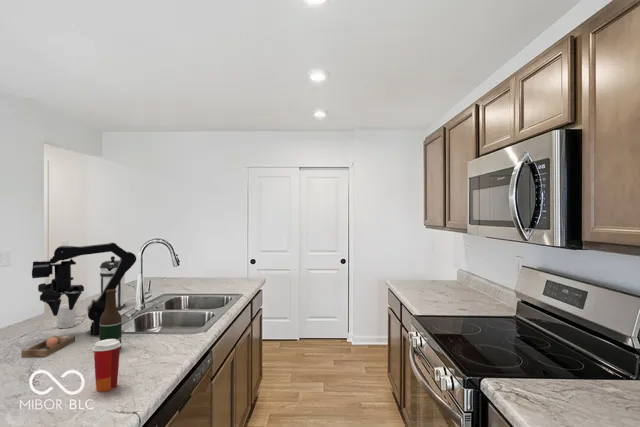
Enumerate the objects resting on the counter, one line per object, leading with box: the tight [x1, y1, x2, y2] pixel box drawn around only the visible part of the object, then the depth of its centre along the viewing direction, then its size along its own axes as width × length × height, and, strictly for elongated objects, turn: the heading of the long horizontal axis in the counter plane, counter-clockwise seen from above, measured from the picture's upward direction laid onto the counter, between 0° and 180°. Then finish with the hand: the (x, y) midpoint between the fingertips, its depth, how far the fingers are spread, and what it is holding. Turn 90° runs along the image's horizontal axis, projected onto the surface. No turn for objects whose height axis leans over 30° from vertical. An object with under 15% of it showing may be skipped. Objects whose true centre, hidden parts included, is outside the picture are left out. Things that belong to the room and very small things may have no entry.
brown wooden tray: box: [20, 336, 76, 358], centre depth 146 cm, size 9×18×4 cm, turn 1°
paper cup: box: [91, 339, 122, 393], centre depth 115 cm, size 8×8×14 cm
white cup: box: [56, 303, 77, 329], centre depth 178 cm, size 8×8×10 cm
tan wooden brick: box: [49, 335, 70, 344], centre depth 151 cm, size 6×2×3 cm, turn 91°
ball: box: [45, 336, 58, 348], centre depth 147 cm, size 4×4×4 cm
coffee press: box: [99, 255, 126, 312], centre depth 213 cm, size 17×16×30 cm
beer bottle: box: [98, 289, 123, 350], centre depth 147 cm, size 8×8×24 cm
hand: (63, 312), depth 157 cm, fingers open, 9 cm apart
